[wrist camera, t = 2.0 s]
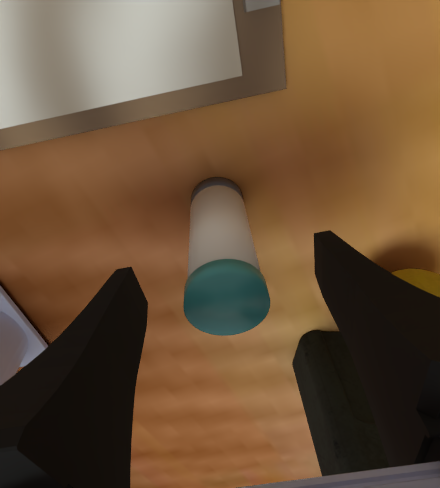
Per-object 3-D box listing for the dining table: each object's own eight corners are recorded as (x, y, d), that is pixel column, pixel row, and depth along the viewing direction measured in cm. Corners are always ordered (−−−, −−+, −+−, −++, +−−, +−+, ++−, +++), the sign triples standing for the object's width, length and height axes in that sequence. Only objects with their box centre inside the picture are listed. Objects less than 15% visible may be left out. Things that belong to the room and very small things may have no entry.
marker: (195, 229, 19) (195, 341, 12) (182, 181, 17) (173, 283, 11) (247, 219, 18) (274, 328, 12) (239, 170, 17) (265, 266, 10)
